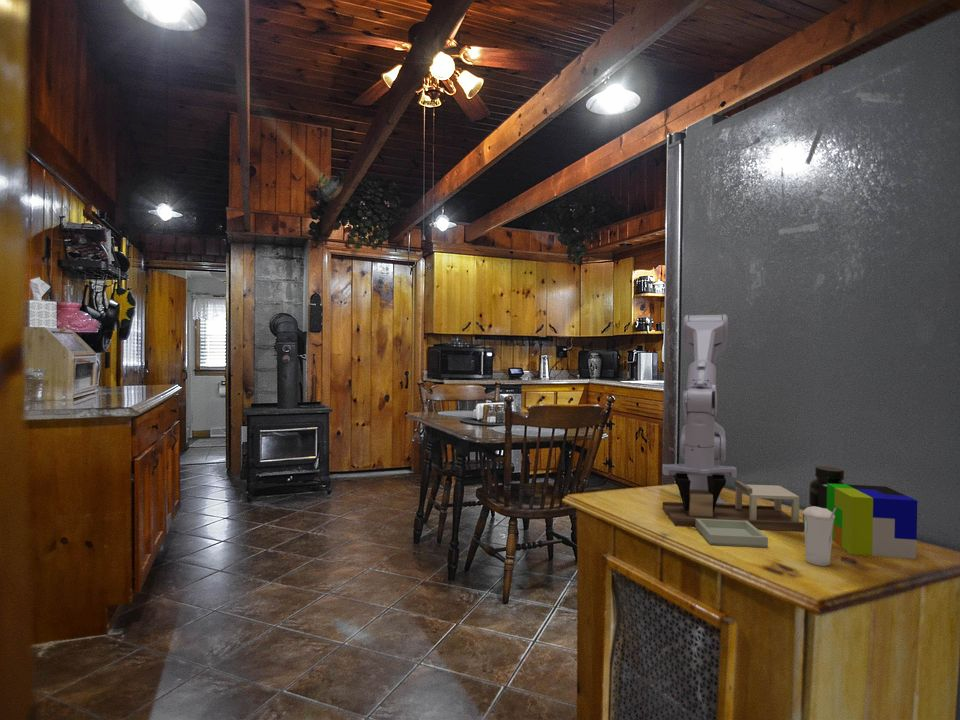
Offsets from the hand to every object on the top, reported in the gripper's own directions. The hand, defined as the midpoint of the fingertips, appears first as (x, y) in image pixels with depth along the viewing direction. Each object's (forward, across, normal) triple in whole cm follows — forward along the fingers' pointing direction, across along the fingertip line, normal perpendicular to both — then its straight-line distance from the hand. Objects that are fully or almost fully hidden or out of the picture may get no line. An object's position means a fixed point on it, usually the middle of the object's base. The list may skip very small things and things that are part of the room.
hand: (698, 510), depth 114 cm
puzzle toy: (+2, +26, -13) cm, 29 cm away
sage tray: (+2, +2, -12) cm, 12 cm away
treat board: (+2, +6, 0) cm, 6 cm away
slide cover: (0, +13, 0) cm, 13 cm away
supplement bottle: (+2, +24, -3) cm, 24 cm away
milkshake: (+2, +13, -23) cm, 26 cm away
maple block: (+1, 0, 0) cm, 1 cm away
